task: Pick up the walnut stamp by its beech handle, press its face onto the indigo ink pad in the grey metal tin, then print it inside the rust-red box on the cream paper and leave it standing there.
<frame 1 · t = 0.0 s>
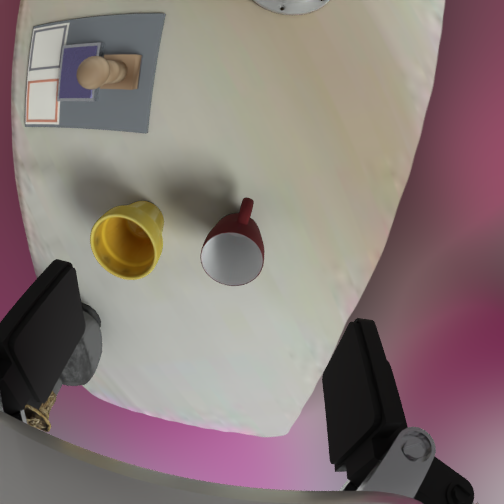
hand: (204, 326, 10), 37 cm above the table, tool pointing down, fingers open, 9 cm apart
mug: (240, 218, 49), on the table
paper sheet: (46, 74, 37), resting on desk mat
pitcher: (86, 310, 61), on the table
plant pot: (145, 218, 50), on the table
ink pad: (79, 72, 36), on the desk mat, point 1 cm above the table
desk mat: (84, 71, 37), on the table
stamp: (124, 71, 37), point 1 cm above the table, touching desk mat
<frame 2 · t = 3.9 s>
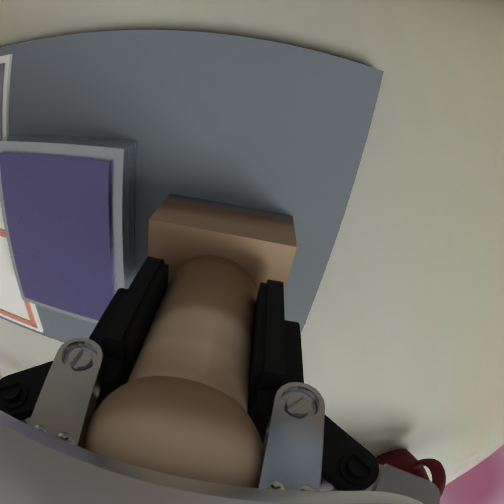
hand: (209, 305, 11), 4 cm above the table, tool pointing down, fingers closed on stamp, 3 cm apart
mug: (396, 450, 25), on the table
ink pad: (62, 235, 13), on the desk mat, point 1 cm above the table
desk mat: (76, 222, 14), on the table
stamp: (222, 257, 14), point 1 cm above the table, touching desk mat, gripper
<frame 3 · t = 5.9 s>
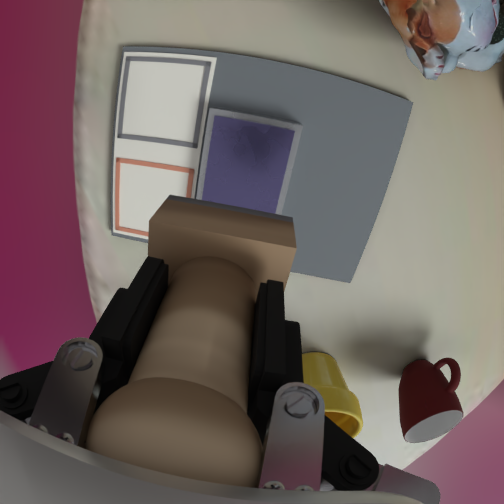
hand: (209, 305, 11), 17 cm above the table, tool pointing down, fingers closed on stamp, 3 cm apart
mug: (419, 361, 37), on the table
paper sheet: (157, 150, 26), resting on desk mat
lucky cat figurine: (432, 5, 17), on the table
plant pot: (311, 366, 38), on the table
ink pad: (245, 169, 25), on the desk mat, point 1 cm above the table
desk mat: (247, 165, 26), on the table
stamp: (221, 258, 14), point 14 cm above the table, touching gripper
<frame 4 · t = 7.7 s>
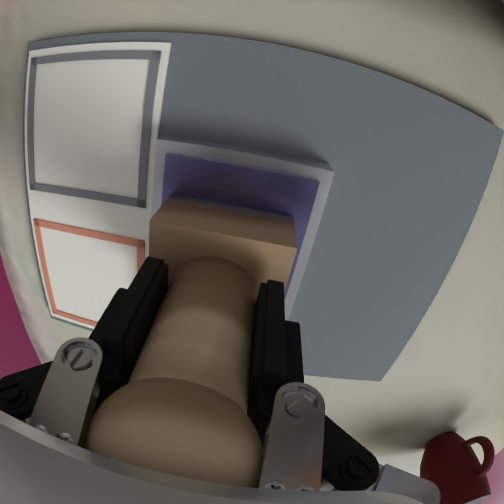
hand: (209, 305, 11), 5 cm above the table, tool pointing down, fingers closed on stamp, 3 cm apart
mug: (446, 433, 27), on the table
paper sheet: (89, 206, 15), resting on desk mat
ink pad: (228, 246, 14), on the desk mat, point 1 cm above the table
desk mat: (232, 232, 16), on the table
stamp: (222, 258, 14), point 2 cm above the table, touching gripper, ink pad
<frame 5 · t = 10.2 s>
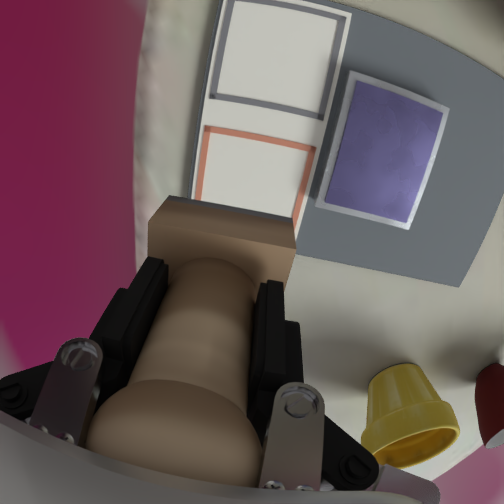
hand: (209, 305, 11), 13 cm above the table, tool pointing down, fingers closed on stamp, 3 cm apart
mug: (492, 365, 31), on the table
paper sheet: (264, 119, 19), resting on desk mat
plant pot: (395, 378, 32), on the table
ink pad: (382, 153, 19), on the desk mat, point 1 cm above the table
desk mat: (376, 148, 20), on the table
stamp: (221, 259, 14), point 10 cm above the table, touching gripper
when the fingers open (4 cm above the table, at t = 11.7 s): stamp stays where it is, resting on paper sheet.
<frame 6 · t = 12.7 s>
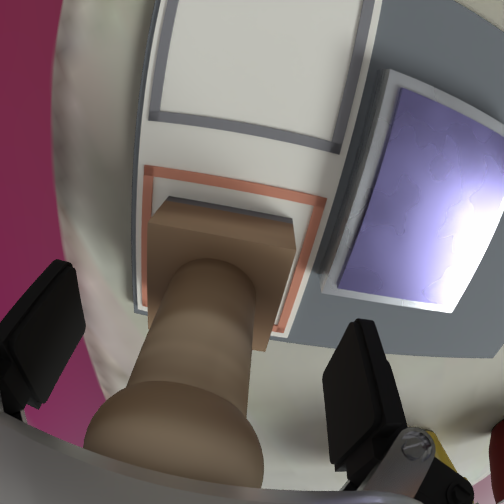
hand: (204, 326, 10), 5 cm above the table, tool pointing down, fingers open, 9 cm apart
paper sheet: (240, 151, 12), resting on desk mat
plant pot: (405, 443, 25), on the table
ink pad: (430, 207, 11), on the desk mat, point 1 cm above the table
desk mat: (417, 195, 12), on the table
stamp: (221, 259, 14), point 1 cm above the table, touching paper sheet
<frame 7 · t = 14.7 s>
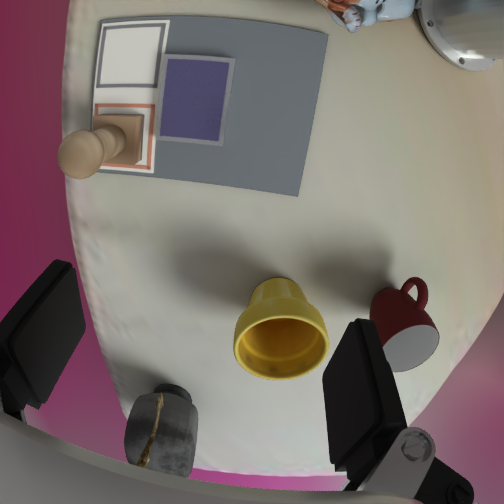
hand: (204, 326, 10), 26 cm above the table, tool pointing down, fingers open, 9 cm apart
mug: (388, 291, 41), on the table
paper sheet: (127, 95, 29), resting on desk mat
pitcher: (172, 390, 53), on the table
plant pot: (278, 296, 42), on the table
ink pad: (194, 98, 29), on the desk mat, point 1 cm above the table
desk mat: (197, 98, 30), on the table
stamp: (122, 136, 31), point 1 cm above the table, touching paper sheet
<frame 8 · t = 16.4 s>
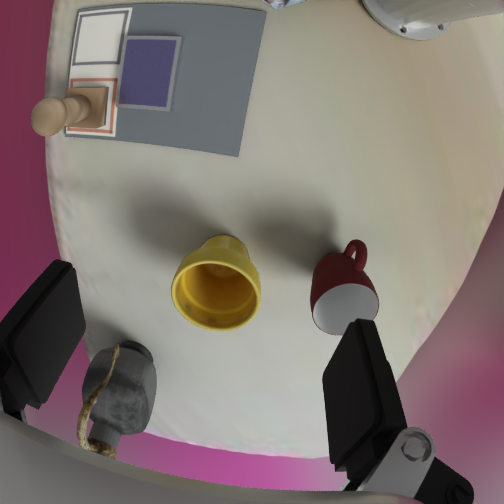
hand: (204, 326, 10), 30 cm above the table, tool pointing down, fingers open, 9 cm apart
mug: (335, 256, 44), on the table
paper sheet: (97, 71, 32), resting on desk mat
pitcher: (135, 348, 56), on the table
plant pot: (225, 254, 44), on the table
ink pad: (148, 72, 31), on the desk mat, point 1 cm above the table
desk mat: (152, 72, 32), on the table
stamp: (90, 105, 33), point 1 cm above the table, touching paper sheet
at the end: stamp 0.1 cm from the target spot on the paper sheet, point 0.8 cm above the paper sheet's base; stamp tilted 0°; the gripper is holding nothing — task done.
